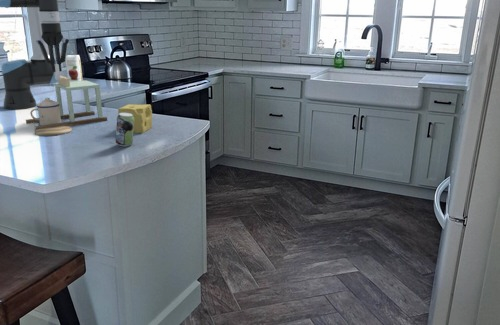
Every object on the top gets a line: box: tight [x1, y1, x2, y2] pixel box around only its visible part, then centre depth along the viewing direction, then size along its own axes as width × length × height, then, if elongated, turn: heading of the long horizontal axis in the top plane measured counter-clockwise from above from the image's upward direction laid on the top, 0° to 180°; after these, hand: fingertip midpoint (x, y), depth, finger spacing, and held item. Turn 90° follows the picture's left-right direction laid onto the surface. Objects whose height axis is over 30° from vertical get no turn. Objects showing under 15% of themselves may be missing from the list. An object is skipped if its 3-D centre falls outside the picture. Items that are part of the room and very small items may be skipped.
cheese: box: [117, 103, 153, 134], centre depth 196 cm, size 10×11×10 cm
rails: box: [25, 110, 108, 131], centre depth 212 cm, size 18×30×2 cm, turn 127°
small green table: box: [54, 75, 104, 122], centre depth 212 cm, size 17×14×18 cm
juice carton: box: [65, 54, 84, 82], centre depth 316 cm, size 8×9×19 cm
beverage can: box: [115, 113, 134, 147], centre depth 173 cm, size 6×7×12 cm
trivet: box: [34, 126, 73, 137], centre depth 195 cm, size 14×14×1 cm
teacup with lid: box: [29, 97, 62, 126], centre depth 205 cm, size 12×9×12 cm
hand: (57, 79), depth 205 cm, fingers closed
